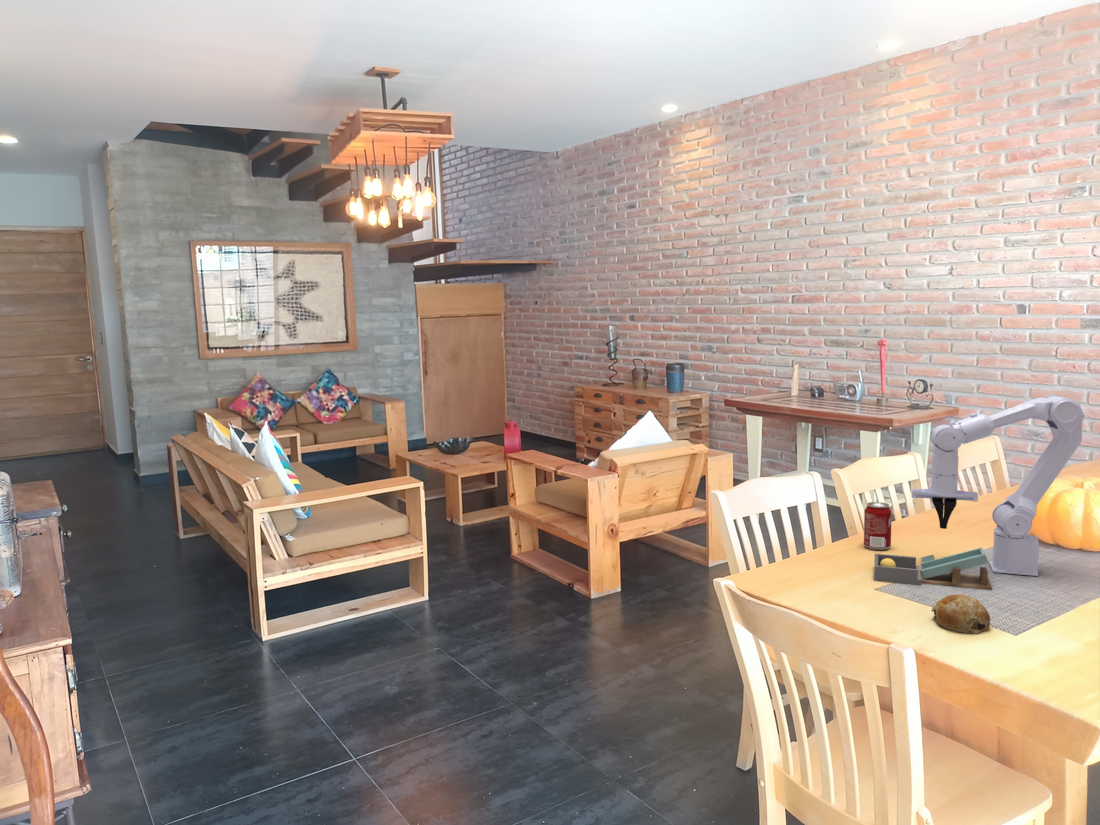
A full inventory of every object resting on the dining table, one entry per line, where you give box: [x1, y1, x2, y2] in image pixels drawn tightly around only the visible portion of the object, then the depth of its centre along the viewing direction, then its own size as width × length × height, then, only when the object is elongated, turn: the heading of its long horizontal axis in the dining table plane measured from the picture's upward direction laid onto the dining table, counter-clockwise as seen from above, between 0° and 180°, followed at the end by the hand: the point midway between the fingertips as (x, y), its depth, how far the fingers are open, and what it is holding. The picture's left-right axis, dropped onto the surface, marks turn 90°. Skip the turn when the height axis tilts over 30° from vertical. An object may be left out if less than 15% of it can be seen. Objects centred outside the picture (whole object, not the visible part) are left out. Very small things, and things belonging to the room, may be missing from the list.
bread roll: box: [931, 593, 991, 635], centre depth 160 cm, size 10×10×8 cm
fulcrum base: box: [920, 566, 993, 591], centre depth 185 cm, size 15×8×4 cm, turn 67°
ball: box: [880, 558, 896, 567], centre depth 191 cm, size 4×4×4 cm
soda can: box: [863, 501, 893, 551], centre depth 213 cm, size 7×7×12 cm
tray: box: [873, 553, 922, 586], centre depth 190 cm, size 10×11×4 cm
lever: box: [920, 547, 989, 579], centre depth 189 cm, size 14×14×2 cm
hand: (943, 527), depth 195 cm, fingers closed
